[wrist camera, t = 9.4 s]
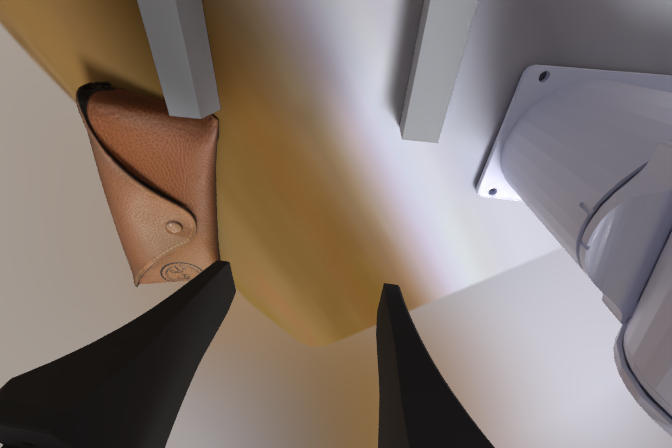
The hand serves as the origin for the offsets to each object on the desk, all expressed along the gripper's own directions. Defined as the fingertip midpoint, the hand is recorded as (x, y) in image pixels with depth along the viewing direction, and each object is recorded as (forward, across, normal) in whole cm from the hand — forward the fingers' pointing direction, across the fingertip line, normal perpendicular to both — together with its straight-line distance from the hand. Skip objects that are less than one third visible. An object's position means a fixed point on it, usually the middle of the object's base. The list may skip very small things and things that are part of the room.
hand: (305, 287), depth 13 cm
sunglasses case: (+11, +14, +3) cm, 18 cm away
